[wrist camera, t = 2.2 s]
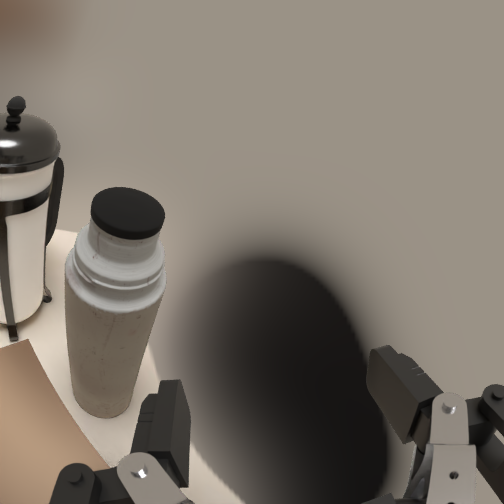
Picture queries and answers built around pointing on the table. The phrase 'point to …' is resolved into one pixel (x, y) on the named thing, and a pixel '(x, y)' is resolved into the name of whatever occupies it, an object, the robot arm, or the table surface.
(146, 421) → the robot arm
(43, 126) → the coffee press
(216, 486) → the table surface
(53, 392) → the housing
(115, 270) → the thermos bottle
